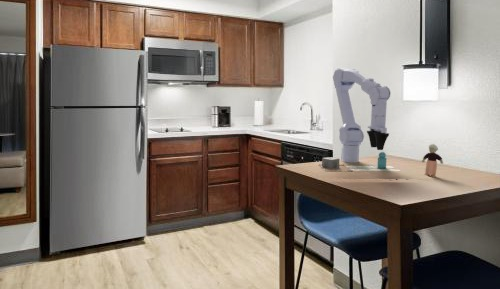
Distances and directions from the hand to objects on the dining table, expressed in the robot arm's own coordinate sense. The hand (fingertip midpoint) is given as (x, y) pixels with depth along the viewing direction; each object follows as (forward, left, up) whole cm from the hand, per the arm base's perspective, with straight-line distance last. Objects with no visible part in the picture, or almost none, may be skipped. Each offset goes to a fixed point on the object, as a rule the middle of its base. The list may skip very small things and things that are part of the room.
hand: (376, 148), depth 162 cm
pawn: (+2, +2, -8) cm, 8 cm away
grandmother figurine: (+12, +18, -9) cm, 23 cm away
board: (+2, -8, -9) cm, 12 cm away
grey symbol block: (0, -19, -10) cm, 21 cm away
